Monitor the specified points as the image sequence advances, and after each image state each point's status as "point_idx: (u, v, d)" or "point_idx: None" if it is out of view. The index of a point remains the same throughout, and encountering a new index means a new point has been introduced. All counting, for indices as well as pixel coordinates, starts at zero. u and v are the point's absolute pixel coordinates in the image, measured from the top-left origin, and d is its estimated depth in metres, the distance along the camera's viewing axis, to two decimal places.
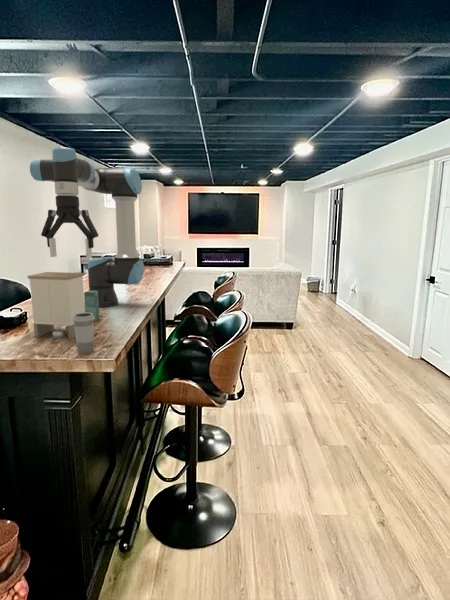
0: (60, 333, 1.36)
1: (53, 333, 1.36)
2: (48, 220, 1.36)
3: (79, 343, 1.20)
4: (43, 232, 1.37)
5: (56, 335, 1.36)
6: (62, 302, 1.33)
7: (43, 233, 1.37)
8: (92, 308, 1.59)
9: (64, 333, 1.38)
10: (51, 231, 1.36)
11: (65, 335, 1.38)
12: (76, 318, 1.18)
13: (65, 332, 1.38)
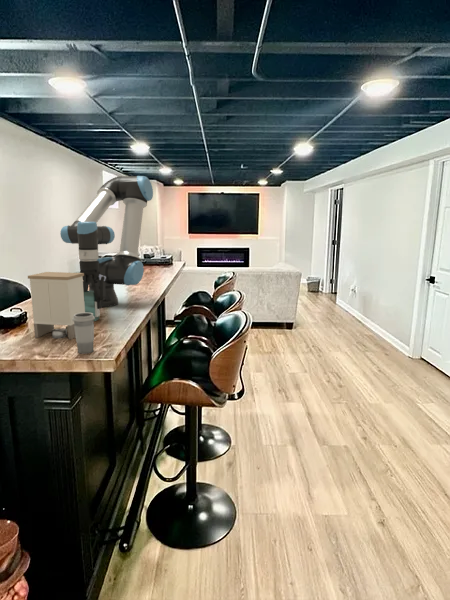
0: (60, 333, 1.36)
1: (53, 333, 1.36)
2: None
3: (79, 343, 1.20)
4: None
5: (55, 335, 1.36)
6: (62, 302, 1.33)
7: None
8: (92, 308, 1.59)
9: (64, 333, 1.37)
10: None
11: (65, 335, 1.38)
12: (76, 318, 1.18)
13: (65, 332, 1.38)
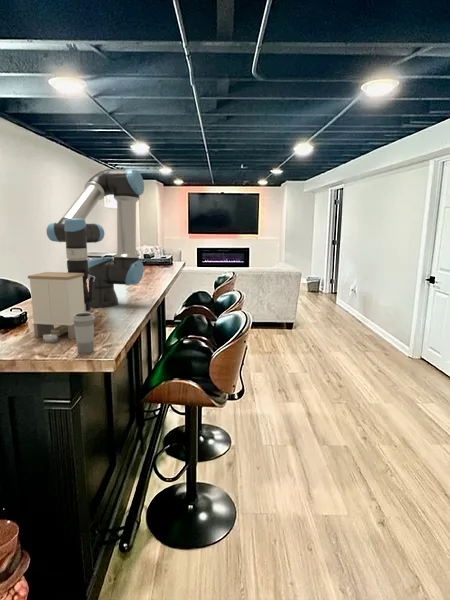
0: (51, 337, 1.31)
1: (44, 337, 1.31)
2: None
3: (79, 343, 1.20)
4: None
5: (46, 339, 1.31)
6: (62, 302, 1.33)
7: None
8: None
9: (55, 337, 1.32)
10: None
11: (56, 339, 1.33)
12: (76, 318, 1.18)
13: (56, 336, 1.33)
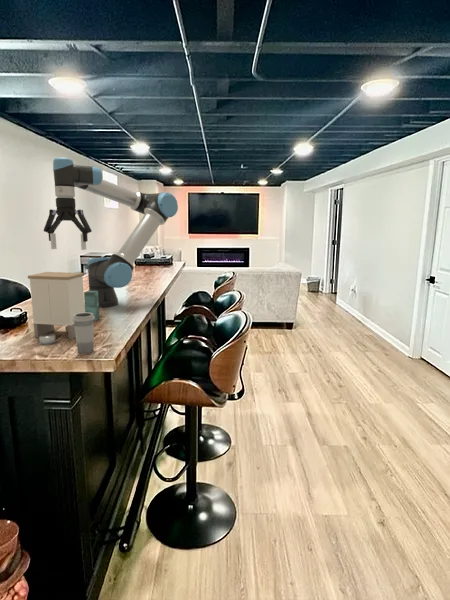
0: (48, 339, 1.29)
1: (41, 339, 1.29)
2: (49, 218, 1.62)
3: (79, 343, 1.20)
4: (45, 228, 1.63)
5: (43, 341, 1.29)
6: (62, 302, 1.33)
7: (45, 229, 1.63)
8: (92, 308, 1.60)
9: (52, 339, 1.30)
10: (52, 227, 1.62)
11: (53, 341, 1.31)
12: (76, 318, 1.18)
13: (53, 338, 1.31)
